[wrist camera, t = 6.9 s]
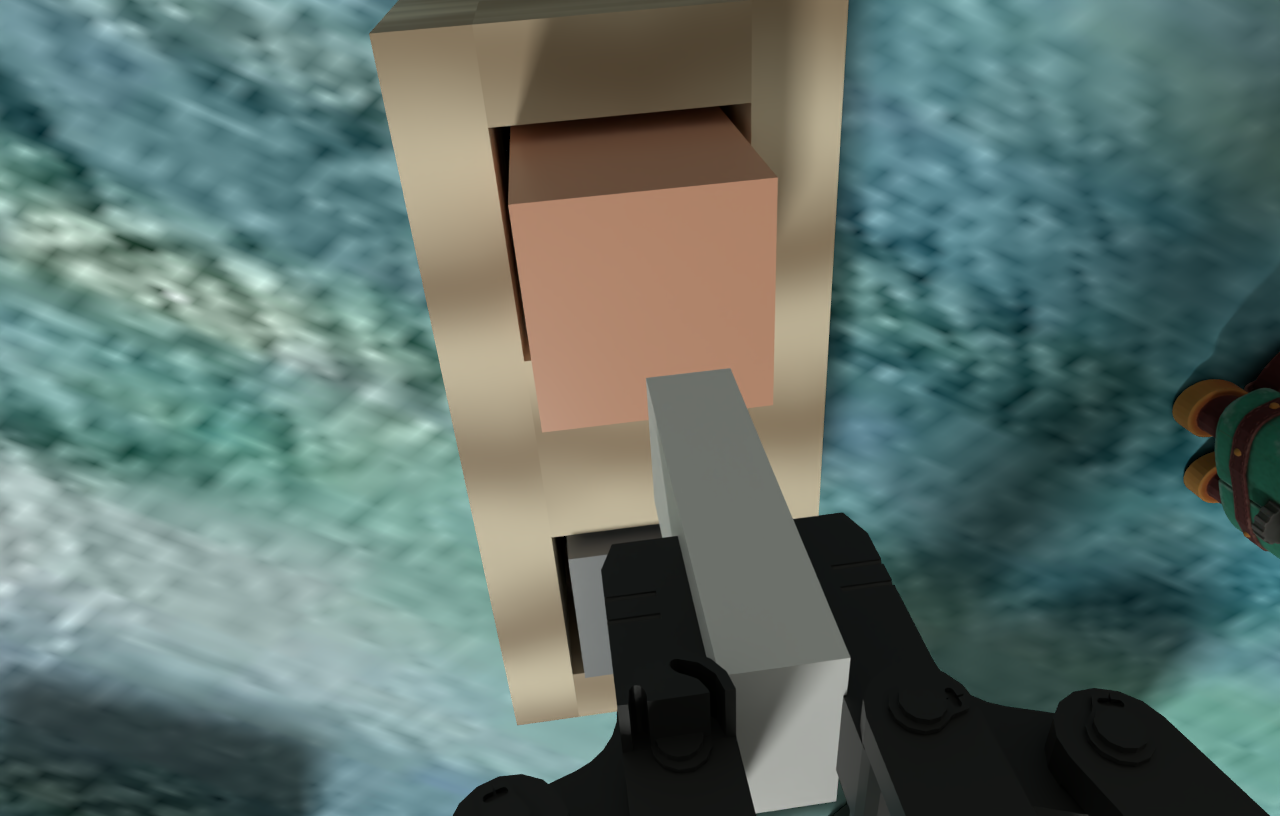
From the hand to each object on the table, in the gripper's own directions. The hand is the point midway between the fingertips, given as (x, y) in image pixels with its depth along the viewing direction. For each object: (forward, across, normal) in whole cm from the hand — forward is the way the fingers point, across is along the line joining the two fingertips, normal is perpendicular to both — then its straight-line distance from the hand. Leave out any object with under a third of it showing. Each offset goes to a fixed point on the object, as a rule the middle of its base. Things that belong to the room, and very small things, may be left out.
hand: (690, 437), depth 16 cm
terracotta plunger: (+14, 0, 0) cm, 14 cm away
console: (+19, 0, +8) cm, 20 cm away
